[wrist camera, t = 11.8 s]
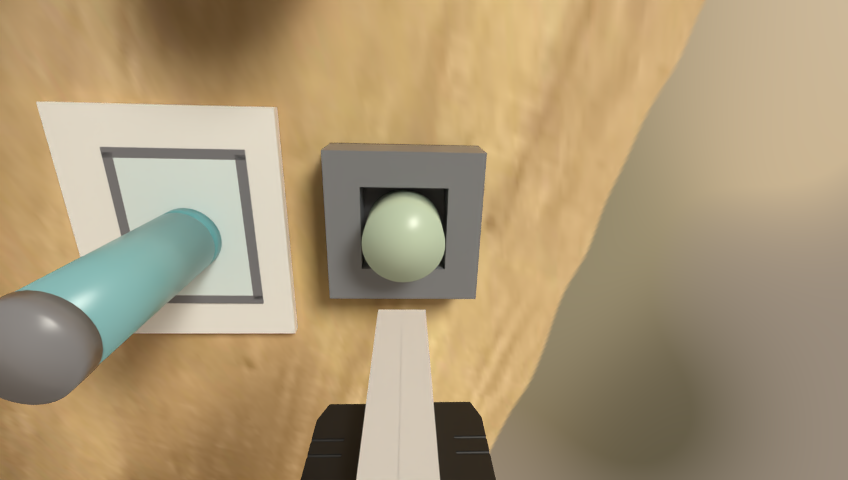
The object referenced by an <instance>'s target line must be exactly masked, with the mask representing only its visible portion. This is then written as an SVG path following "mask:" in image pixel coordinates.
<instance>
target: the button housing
mask: <svg viewBox="0 0 848 480" xmlns="http://www.w3.org/2000/svg"><path fill="white" fill-rule="evenodd" d="M486 156H487V153H486V152H485V151H483V150H482V149H481V148H480V147H479V146H457V145H409V144H360V143H330V144H328V145H327V146H326V147H324V148H323V149H322V150H321V160H322V176H323V192H324V209H325V225H326V242H327V258H328V275H329V291H330V298H348V299H475V298H476V285H477V272H478V259H479V247H480V234H481V221H482V208H483V195H484V182H485V169H486ZM396 190H411V191H415V192H418V193H420V194H422V195H424V196H425V197H427V198H428V199H429V200H430V201H431V202H432V203H433V204H434V206H435V207H436V209H437V211H438V213H439V216H440V220H441V224H442V228H443V232H444V236H445V251H444V255H443V257H442V260H441V261H440V263H439V265H438V266H437V267H436V268H435V269H434V270H433V271H432V272H431V273H430V274H429V275H427V276H425V277H424V278H422V279H419V280H416V281H412V282H395V281H391V280H388V279H385V278H383V277H381V276H380V275H378V274H377V273H376V272H374V271H373V270H372V268H371V267H370V266H369V265H368V263H367V262H366V260H365V257H364V255H363V251H362V235H363V232H364V228H365V225H366V222H367V218H368V215H369V212H370V210H371V208H372V206H373V205H374V203H375V202H376V201H377V200H378V199H379V198H381V197H382V196H383V195H385V194H387V193H389V192H392V191H396Z"/></svg>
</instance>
